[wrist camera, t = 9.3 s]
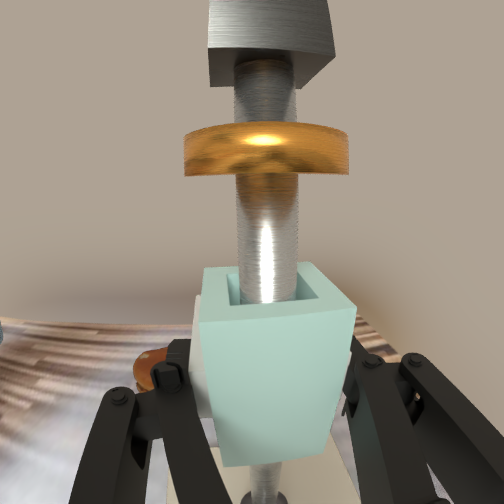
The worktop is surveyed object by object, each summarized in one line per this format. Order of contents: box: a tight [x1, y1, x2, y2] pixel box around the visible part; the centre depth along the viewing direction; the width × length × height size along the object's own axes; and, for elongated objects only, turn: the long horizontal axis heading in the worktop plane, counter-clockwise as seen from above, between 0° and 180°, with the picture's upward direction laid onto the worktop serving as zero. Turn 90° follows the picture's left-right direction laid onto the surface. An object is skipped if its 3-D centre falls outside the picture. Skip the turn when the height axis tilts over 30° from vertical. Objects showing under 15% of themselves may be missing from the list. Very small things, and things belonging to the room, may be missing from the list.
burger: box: [133, 347, 168, 393], centre depth 36 cm, size 10×9×5 cm
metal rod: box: [184, 0, 349, 504], centre depth 11 cm, size 5×5×34 cm
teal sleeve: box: [198, 262, 357, 467], centre depth 11 cm, size 5×5×8 cm
